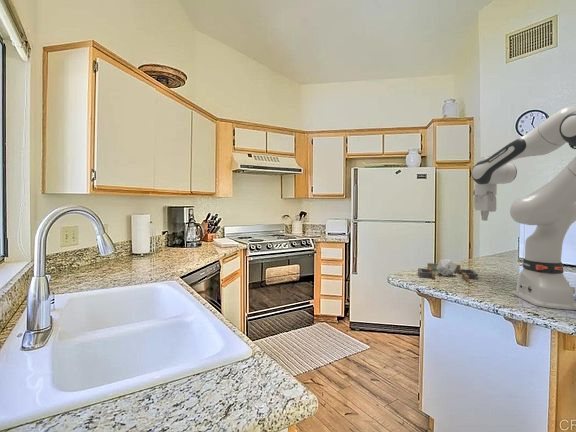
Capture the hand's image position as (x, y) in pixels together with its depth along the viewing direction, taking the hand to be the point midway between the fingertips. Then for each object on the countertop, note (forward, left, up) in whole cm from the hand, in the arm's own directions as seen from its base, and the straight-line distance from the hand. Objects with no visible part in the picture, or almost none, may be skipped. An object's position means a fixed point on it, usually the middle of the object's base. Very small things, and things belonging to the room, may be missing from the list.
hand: (484, 220), depth 151 cm
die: (0, +16, -28) cm, 32 cm away
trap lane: (-2, +16, -28) cm, 32 cm away
